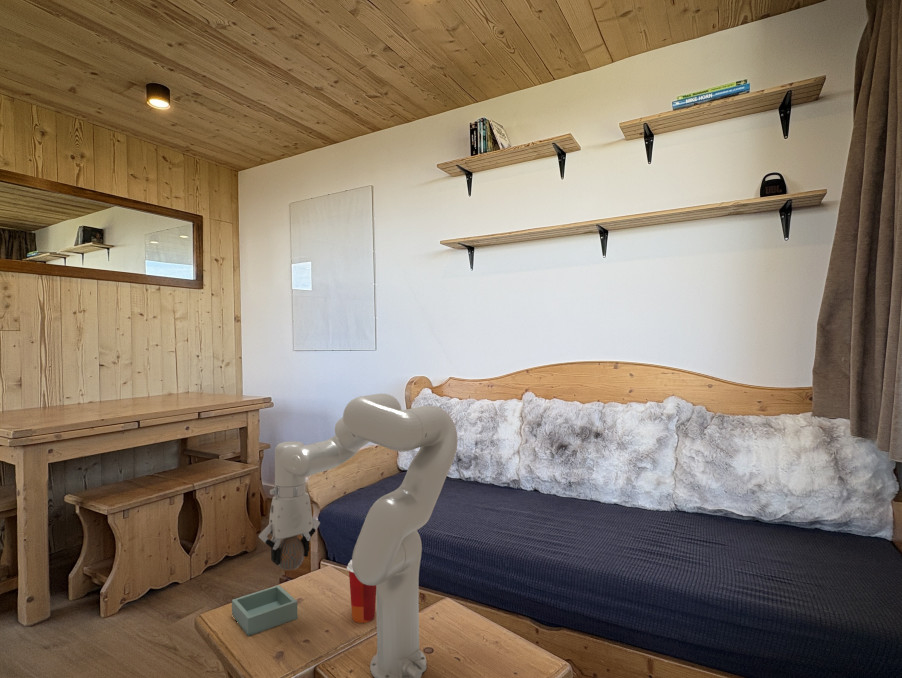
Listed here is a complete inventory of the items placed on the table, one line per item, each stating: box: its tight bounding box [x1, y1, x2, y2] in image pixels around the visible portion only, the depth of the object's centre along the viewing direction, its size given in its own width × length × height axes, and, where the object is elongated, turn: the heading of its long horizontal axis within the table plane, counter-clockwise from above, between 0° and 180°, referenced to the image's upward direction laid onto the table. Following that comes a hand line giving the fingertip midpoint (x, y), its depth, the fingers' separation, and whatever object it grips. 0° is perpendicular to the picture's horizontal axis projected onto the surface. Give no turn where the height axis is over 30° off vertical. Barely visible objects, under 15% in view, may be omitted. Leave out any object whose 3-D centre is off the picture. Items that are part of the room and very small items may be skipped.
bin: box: [231, 584, 299, 638], centre depth 137 cm, size 13×13×4 cm
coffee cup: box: [346, 559, 377, 624], centre depth 136 cm, size 8×8×15 cm
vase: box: [278, 535, 305, 572], centre depth 131 cm, size 7×7×9 cm
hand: (290, 558), depth 131 cm, fingers closed on vase, 6 cm apart
